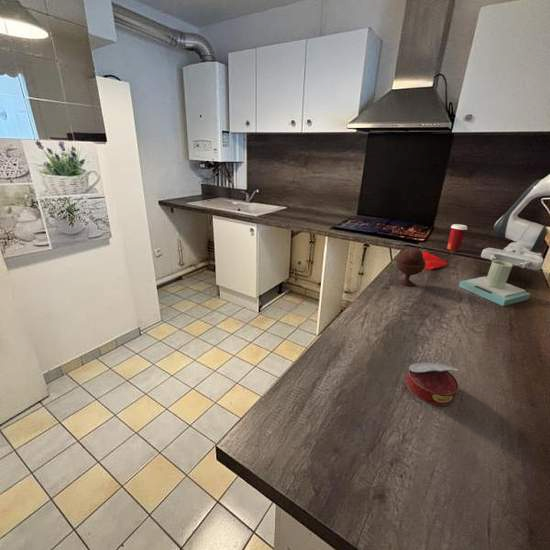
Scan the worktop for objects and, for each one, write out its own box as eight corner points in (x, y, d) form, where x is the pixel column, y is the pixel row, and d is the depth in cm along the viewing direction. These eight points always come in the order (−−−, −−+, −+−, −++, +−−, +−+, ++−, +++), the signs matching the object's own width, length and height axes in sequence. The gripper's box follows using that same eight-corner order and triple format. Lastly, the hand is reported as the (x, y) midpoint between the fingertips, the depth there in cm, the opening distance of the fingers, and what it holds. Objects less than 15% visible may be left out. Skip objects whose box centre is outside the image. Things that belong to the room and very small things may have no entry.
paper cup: (463, 251, 160) (471, 226, 154) (455, 253, 156) (463, 227, 151) (449, 247, 166) (456, 223, 160) (441, 249, 162) (448, 224, 157)
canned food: (408, 409, 65) (393, 373, 63) (417, 379, 73) (404, 345, 71) (466, 416, 58) (451, 375, 56) (470, 382, 65) (457, 344, 63)
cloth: (445, 273, 129) (447, 268, 128) (412, 266, 136) (413, 262, 135) (448, 257, 150) (449, 253, 149) (419, 252, 156) (420, 248, 155)
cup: (507, 287, 110) (516, 265, 106) (497, 289, 107) (505, 267, 104) (491, 280, 115) (499, 259, 111) (481, 283, 113) (488, 261, 109)
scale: (528, 299, 108) (531, 291, 107) (503, 306, 102) (506, 298, 101) (482, 281, 122) (485, 274, 121) (458, 286, 117) (460, 279, 115)
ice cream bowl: (421, 281, 120) (430, 247, 114) (418, 291, 111) (427, 254, 105) (394, 275, 125) (401, 242, 119) (389, 285, 116) (397, 249, 110)
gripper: (487, 242, 131) (479, 248, 122) (547, 254, 117) (542, 262, 108) (483, 255, 133) (475, 262, 124) (540, 268, 120) (536, 277, 111)
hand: (507, 262), depth 116 cm, fingers open, 8 cm apart
